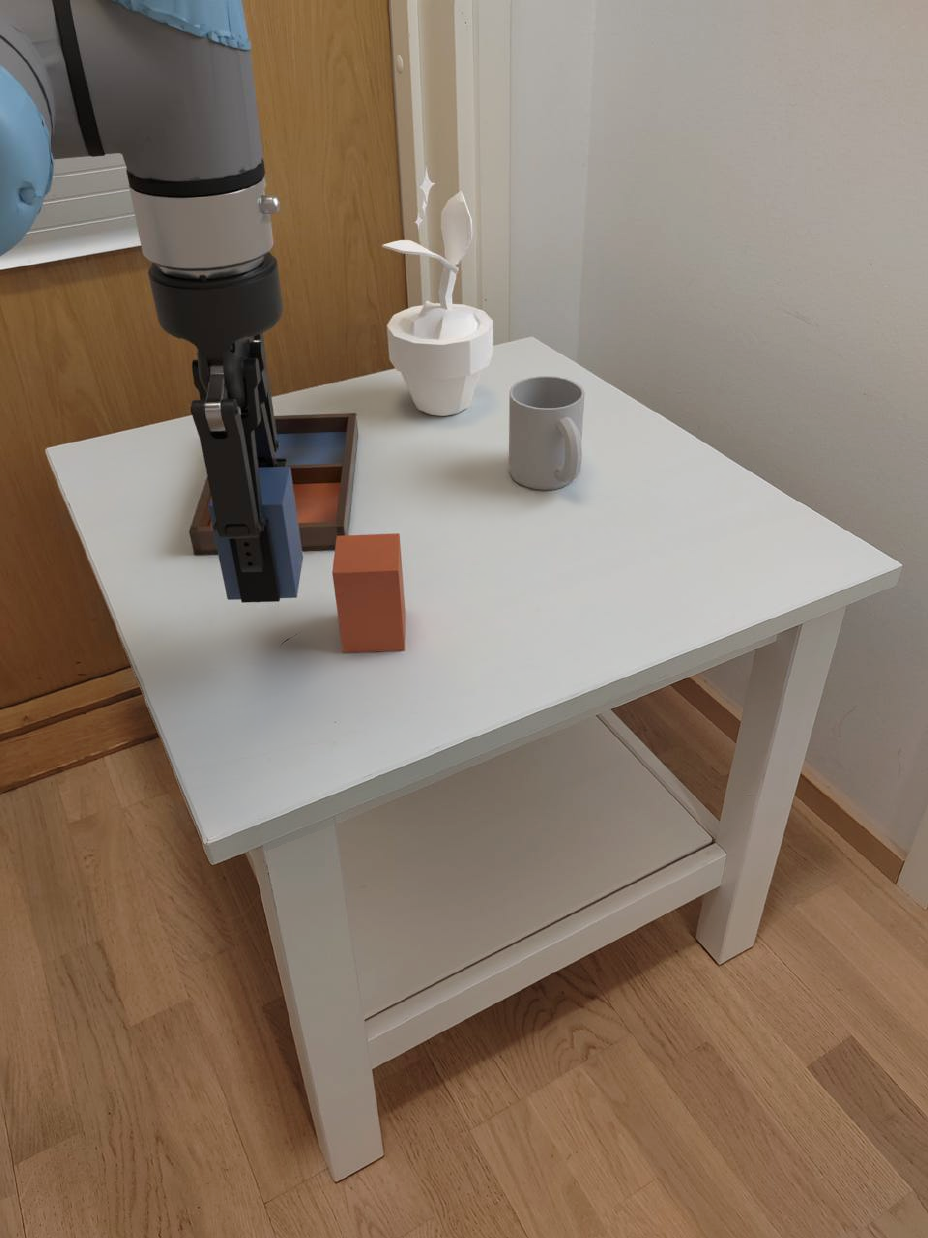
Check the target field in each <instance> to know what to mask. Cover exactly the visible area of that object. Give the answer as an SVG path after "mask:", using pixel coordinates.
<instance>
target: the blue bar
mask: <svg viewBox="0 0 928 1238" xmlns="http://www.w3.org/2000/svg"><path fill="white" fill-rule="evenodd" d="M258 469H259V478H260V488H261V497H262V506H263V515H264V518H265V520H269V526H270V533H271V539H272V545H273V551H274V557H275V564H276V570H277V576H278V582H279V588H280V594H281V596H280V599H296V598H297V597H298V592H299V586H300V580H301V574H302V567H303V561H304V555H303V551H302V547H301V540H300V533H299V526H298V519H297V511H296V504H295V497H294V490H293V483H292V476H291V469H290V467H266V468H258ZM208 508H209V513H210V518H211V522H212V527H213V525H214V523H215V522H216V517H215V512H214V507H213V502H212V497H211V499H210V502H209V505H208ZM213 532H214V537H215V541H216V546H217V551H218V554H217V555H218V561H219V564H220V565H219V566H220V570H221V574H222V580H223V584H224V589H225V593H226V598H227V600H228V601H234V600H235V601H237V600H240V601H241V597H240V592H239V587H238V581H237V576H236V571H235V566H234V561H233V556H232V551H231V546H230V541H229V538H225V539H220V537H219V533H218V532H215V531H214V529H213Z"/></svg>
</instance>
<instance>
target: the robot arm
mask: <svg viewBox="0 0 928 1238" xmlns="http://www.w3.org/2000/svg"><path fill="white" fill-rule="evenodd" d="M252 57H253V56H252V41H251V40H250V39H249V35H248V29H247V23H246V17H245V11H244V5H243V0H0V257H2V256H3V255H5V254H6V253H8V252H10V251H12V249H14V247H15V246H17V245H18V244H19V243H20V242H21V241H22V240H23V239H24V238H25V236H26V235H27V234H28V233H29V231H30V230H31V228H32V226H33V224H34V222H35V221H36V220H37V217H38V215H39V214H40V213H41V211H42V207H43V205H44V201H45V198H46V196H47V195H48V194H49V193H50V192H51V189H52V184H53V179H54V178H53V177H54V171H55V170H54V169H55V168H54V167H55V160H63V159H74V158H75V159H76V158H86V157H92V158H94V157H104V156H106V155H113V154H120V155H122V159H123V162H124V165H125V168H126V170H125V172H126V176H127V180H128V187H129V193H130V198H131V202H132V208H133V212H134V217H135V222H136V227H137V232H138V237H139V242H140V246H141V251H142V255H143V256H144V257H145V258H146V259H147V260H148V261H149V262H151V265H150V267H149V268H148V271H147V274H148V279H149V284H150V289H151V294H152V298H153V299H152V300H153V303H154V307H155V312H156V317H157V322H158V324H159V326H160V327H161V328H162V330H163V331H164V332H166V333H167V334H168V335H170V336H172V337H174V338H176V339H180V340H181V339H182V340H185V341H187V342H189V343H190V344H192V345H193V346H195V347H196V350H197V353H196V354H197V359H193V360H192V362H191V368H192V369H191V371H192V378H193V379H192V380H193V384H194V387H195V388H196V389H197V390H198V393H199V399H192V401H191V403H190V404H191V406H190V414H191V416H192V420H193V423H194V425H195V427H196V431H197V434H198V437H199V442H200V446H201V451H202V456H203V461H204V466H205V472H206V478H207V477H208V482H209V487H210V492H211V497H212V502H213V507H214V512H215V517H216V522H215V523H214V525H213V529H214V531H215V532H218V533H219V537H220V539H225V538H229V541H230V546H231V551H232V556H233V561H234V566H235V571H236V576H237V581H238V587H239V592H240V597H241V599H240V602H241V603H244V604H245V603H275V602H278V603H279V602H280V601H281V598H280V596H281V594H280V588H279V582H278V576H277V570H276V564H275V557H274V551H273V545H272V539H271V533H270V526H269V520H265V518H264V515H263V506H262V497H261V488H260V478H259V469H258V468H266V467H287V459H286V458H279V459H276V456H275V453H277V452H278V449H279V441H278V439H277V432H276V425H275V418H274V416H275V413H274V406H273V400H272V399H273V398H272V392H271V385H270V379H269V371H268V365H267V359H266V349H265V339H264V333H265V332H267V331H269V330H271V329H272V328H274V327H275V326H276V325H277V324H278V322H280V321H281V318H282V316H283V314H284V303H283V295H282V289H281V281H280V280H281V279H280V274H279V266H278V265H279V264H278V260H277V259H276V257H275V256H274V255H273V254H272V253H271V252H270V250H271V249H272V248H273V246H274V235H273V228H272V219H271V218H272V217H271V215H272V214H273V215H274V214H277V213H278V212H279V211H280V209H281V202H280V200H279V198H278V197H277V195H275V194H269V195H266V193H265V191H266V190H265V188H266V187H267V182H266V177H265V175H266V169H265V162H264V153H263V144H262V136H261V128H260V117H259V110H258V102H257V101H258V100H257V94H256V93H257V91H256V84H255V76H254V67H253V66H254V65H253V59H252Z"/></svg>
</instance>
